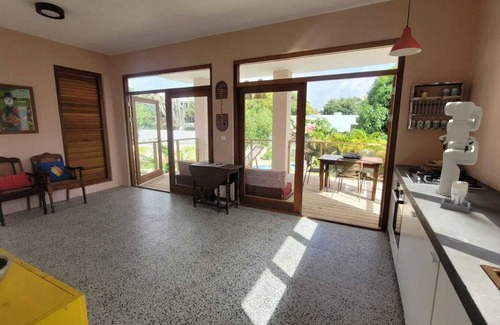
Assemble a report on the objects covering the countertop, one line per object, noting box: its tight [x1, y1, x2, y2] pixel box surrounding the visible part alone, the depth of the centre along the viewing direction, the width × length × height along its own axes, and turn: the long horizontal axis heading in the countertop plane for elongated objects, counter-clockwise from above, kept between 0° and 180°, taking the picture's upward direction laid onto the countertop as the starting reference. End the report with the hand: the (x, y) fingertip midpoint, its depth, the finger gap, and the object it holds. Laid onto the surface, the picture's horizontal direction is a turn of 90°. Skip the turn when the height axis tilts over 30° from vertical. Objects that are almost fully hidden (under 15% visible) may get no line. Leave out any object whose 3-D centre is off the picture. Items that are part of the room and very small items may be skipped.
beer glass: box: [450, 180, 469, 207], centre depth 138 cm, size 7×7×15 cm
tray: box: [439, 197, 471, 214], centre depth 139 cm, size 13×12×3 cm
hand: (454, 151), depth 145 cm, fingers open, 9 cm apart
